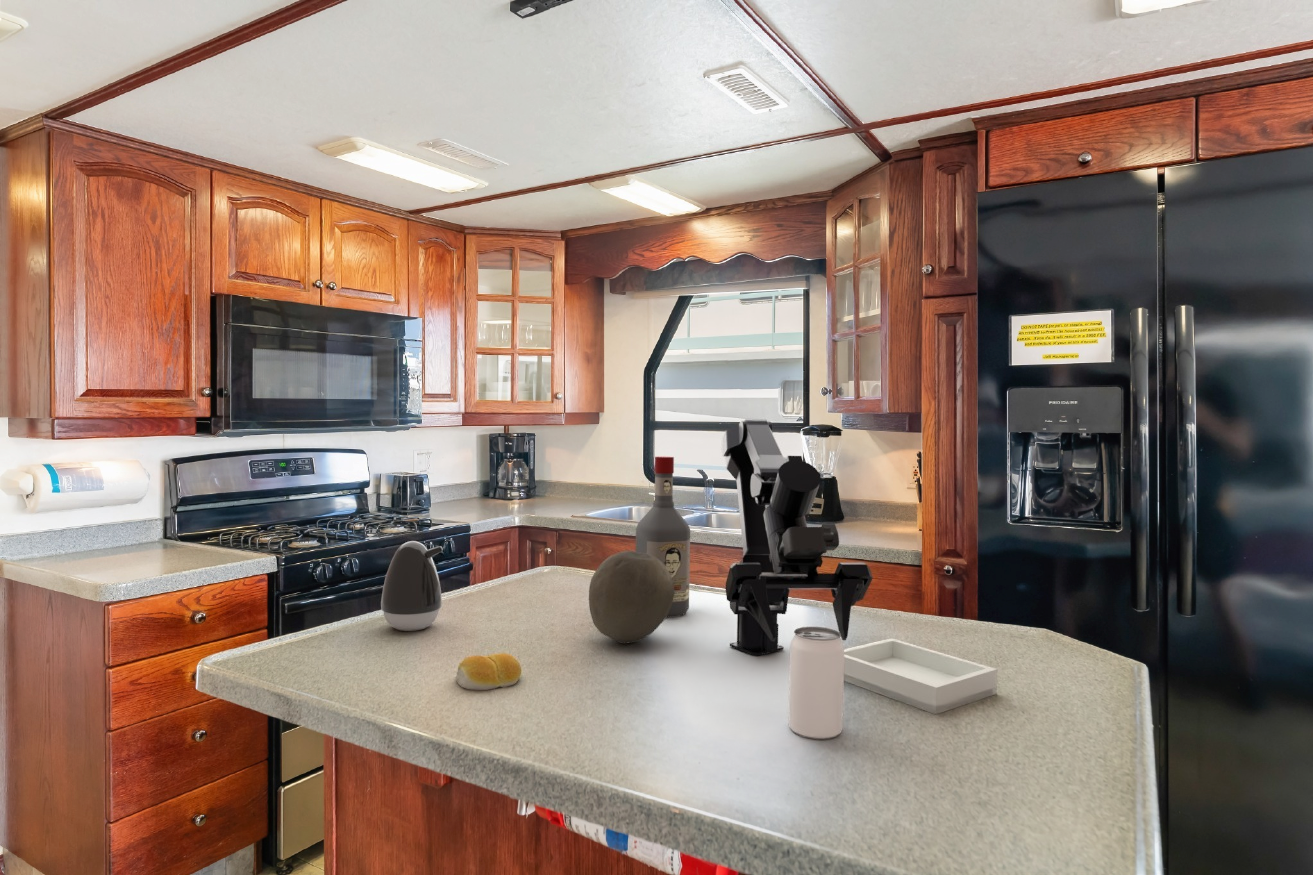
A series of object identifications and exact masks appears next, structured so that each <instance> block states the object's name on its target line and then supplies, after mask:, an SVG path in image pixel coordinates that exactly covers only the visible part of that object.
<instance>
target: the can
mask: <svg viewBox="0 0 1313 875" xmlns="http://www.w3.org/2000/svg"><path fill="white" fill-rule="evenodd" d="M844 649H845V646H844V644H843V640H842V638H841V633H840V632H839V630H835V629H832V628H829V627H824V626H822V627H821V626H802V627H797V628H796V629H795V630H794V636H793V638H792V640H791V641H790V650H789V651H790V652H789V680H788V684H789V686H788V693H789V694H788V727H789V728H790V730H791V732H793V733H794V734H795V735H798V736H800V737H802V738H806V739H812V740H831V739H834V738H836V737H838V736H839V735H840V734H841V733H842V732H843V719H844V718H843V717H844V716H843V715H844V714H843V713H844V682H845V681H844Z"/></svg>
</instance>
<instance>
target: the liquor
mask: <svg viewBox="0 0 1313 875" xmlns="http://www.w3.org/2000/svg"><path fill="white" fill-rule="evenodd" d="M674 461H675V457H674V456H654V474H655V477H654V500H653V502H652V507H651V508H650V509H649V511H648V512H646V514H645V515H644V516H643V517H642V518H641V519H640V520H639V521H638V523H637V526H636V528H635V552H641V553H647V554H650V555H652V556H654V557H656V558H657V559H658V560H660V561H661V562H662V563H663V564H664V565H665V567H666V568H667V569H668V571H669V573H670V574H671V577H672V579H673V583H674V598H673V602H672V605H671V608H670V610H669V613H668V615H667V616H666V618H673V617H683V616H685V615H686V614H687V613H688V611H689V609H690V573H691V572H690V570H691V569H690V567H691V566H690V565H691V529H690V526H689V523H688V522H687V521H686V520H685V519H684V518H683V516H682V515H681V514H680V512H679V511H677V509H676V507H675V503H674V498H673V496H674V495H673V493H674V492H673V490H674V489H673V487H674V486H673V485H674V484H673V483H674V481H673V480H674V479H673V477H674V475H673V474H674V472H675V471H674V469H675V468H674V466H675V462H674Z"/></svg>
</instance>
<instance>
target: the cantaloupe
mask: <svg viewBox="0 0 1313 875" xmlns="http://www.w3.org/2000/svg"><path fill="white" fill-rule="evenodd" d="M673 598H674V583H673V579H672V577H671V574H670V573H669V571H668V569H667V568H666V567H665V565H664V564H663V563H662V562H661V561H660V560H658V559H657V558H656V557H654V556H652V555H650V554H647V553H641V552H636V550H624V551H620V552H617V553H615V554H612V555H610V556H608V557H607V558H605V559H604V560H603V561H602V562H601V563H600V564H599V566H598V567H597V569H595V571H594V573H593V575H592V577H591V579H590V583H589V589H588V604H589V605H588V606H589V607H588V608H589V612H590V616H591V619H592V623H593V625H594V626H595V628H596V629H597V631H599V632H600V633H601V635H603V636H605V637H607V638H608V639H611V640H613V641H615V642H616V643H619V644H629V643H635V642H638V641H641V640H644V639H645V638H646V637H648V636H649V635H651V634H652V633H654V631H656V630H657V629H658V627H659V626H661V624H662V623H663V622H664V621H665V619H666V618H667V617H666V616H667V615H668V613H669V610H670V608H671V605H672V602H673Z"/></svg>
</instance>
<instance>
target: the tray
mask: <svg viewBox="0 0 1313 875" xmlns="http://www.w3.org/2000/svg"><path fill="white" fill-rule="evenodd" d="M844 682H845V683H849V684H852V685H854V686H857V687H860V688H863V689H865V690H868V691H871V692H873V693H876V694H878V695H881V696H885V697H887V698H889V699H893V700H894V701H898V702H900V703H904V704H905V705H908V706H911V707H914V708H917V709H920V710H922V711H926V712H928V713H930V714H933V715H937V714H940V713H944V712H947V711H949V710H953V709H955V708H958V707H962V706H965V705H967V704H970V703H974V702H977V701H980V700H984V699H986V698H988V697H989V698H990V697H992V696H994V695H997V691H998V690H997V689H998V685H997V684H998V668H994V667H992V666H988V665H986V664H981V663H979V662H974V661H971V660H967V659H964V658H961V657H957V656H954V655H950V654H946V653H943V652H940V651H936V650H933V649H929V648H926V647H923V646H919V645H915V644H912V643H909V642H906V641H903V640H899V639H896V638H887V639H882V640H878V641H874V642H870V643H865V644H861V645H857V646H852V647H849V648H848V647H847V648H844Z"/></svg>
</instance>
